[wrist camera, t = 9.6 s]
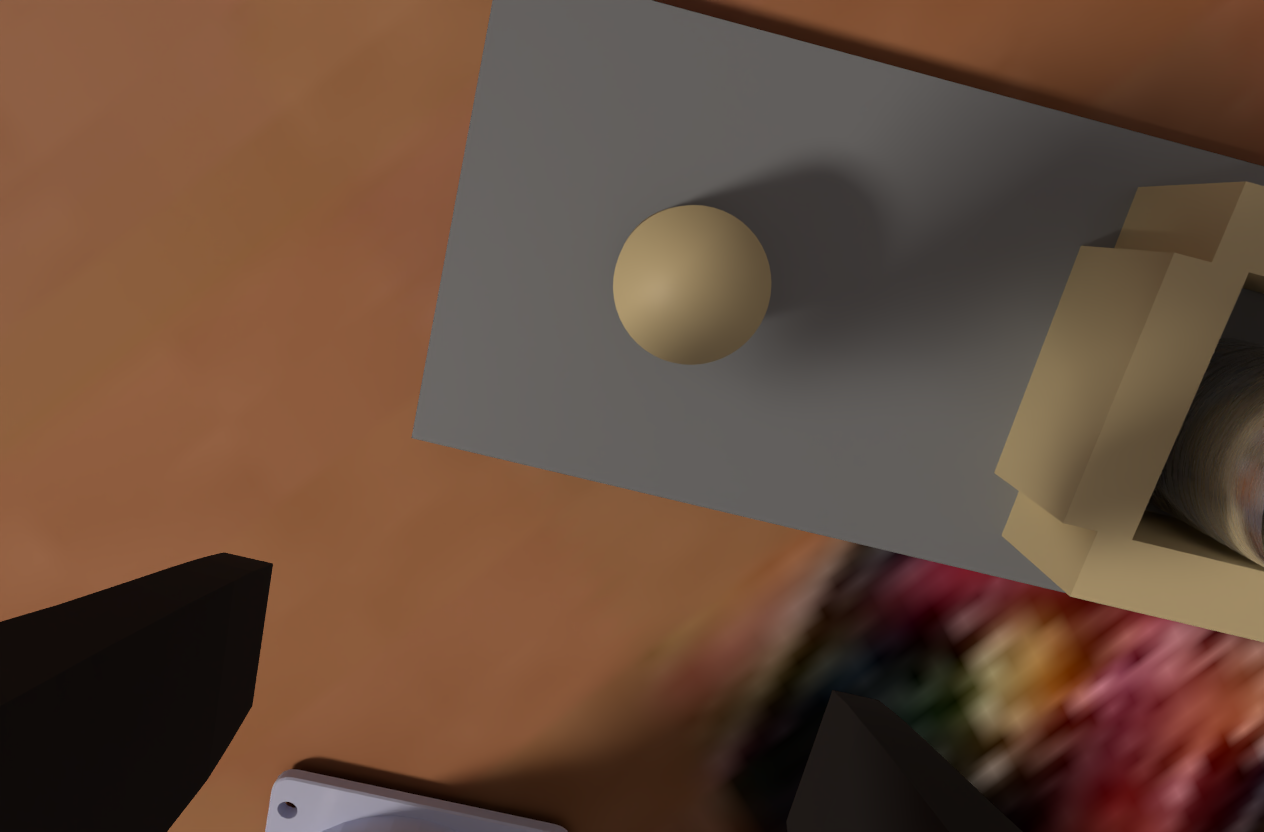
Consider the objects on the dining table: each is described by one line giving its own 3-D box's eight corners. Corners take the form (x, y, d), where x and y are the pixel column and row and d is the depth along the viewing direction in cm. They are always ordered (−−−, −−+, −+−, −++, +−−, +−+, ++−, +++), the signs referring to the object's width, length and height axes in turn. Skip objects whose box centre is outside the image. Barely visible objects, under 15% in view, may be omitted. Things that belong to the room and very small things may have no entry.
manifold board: (1353, 647, 20) (1524, 751, 16) (423, 426, 19) (367, 481, 15) (1559, 258, 18) (1820, 271, 14) (508, -26, 16) (468, -100, 12)
